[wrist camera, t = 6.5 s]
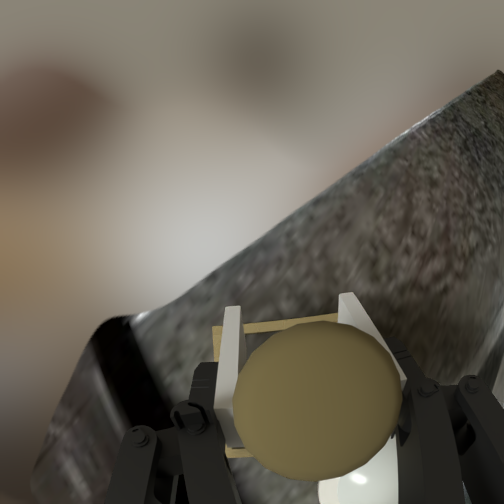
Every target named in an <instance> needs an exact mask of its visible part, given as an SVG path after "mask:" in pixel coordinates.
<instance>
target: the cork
mask: <svg viewBox="0 0 504 504" xmlns="http://www.w3.org/2000/svg"><path fill="white" fill-rule="evenodd" d="M401 404H402V389H401V380H400V374H399V372H398V370H397V368H396V365H395V363H394V361H393V359H392V357H391V355H390V353H389V352H388V351H387V350H386V349H385V348H384V347H383V346H382V345H381V344H380V343H379V342H378V341H377V340H376V339H375V338H374V337H373V336H371V335H369V334H367V333H366V332H364V331H362V330H360V329H358V328H356V327H354V326H352V325H348V324H342V323H336V322H330V321H324V320H322V321H315V322H308V323H300V324H296V325H294V326H292V327H289V328H287V329H285V330H283V331H280V332H278V333H276V334H274V335H272V336H271V337H270V338H269V339H268V340H266V341H265V342H264V343H263V344H262V345H261V346H259V347H258V348H257V349H256V350H255V351H254V352H252V354H251V356H250V357H249V359H248V360H247V362H246V364H245V365H244V367H243V368H242V370H241V372H240V373H239V375H238V378H237V382H236V386H235V390H234V394H233V398H232V405H233V416H234V426H235V428H236V430H237V432H238V434H239V436H240V438H241V440H242V443H243V445H244V447H245V448H246V449H247V450H248V451H249V452H250V453H251V454H252V455H253V456H254V457H255V458H256V459H257V460H258V461H259V462H260V463H261V464H262V465H263V466H264V467H265V468H267V469H269V470H271V471H273V472H275V473H277V474H279V475H282V476H284V477H286V478H288V479H294V480H303V481H313V482H317V481H323V480H328V479H333V478H338V477H342V476H344V475H346V474H348V473H350V472H352V471H354V470H356V469H358V468H360V467H362V466H363V465H365V464H366V463H368V462H369V461H370V460H371V459H372V458H373V457H374V456H375V455H376V454H377V453H378V452H379V451H380V450H381V449H382V448H383V447H384V446H385V445H386V443H387V441H388V439H389V438H390V436H391V434H392V432H393V431H394V429H395V427H396V425H397V423H398V418H399V414H400V409H401Z"/></svg>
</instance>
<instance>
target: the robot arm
mask: <svg viewBox="0 0 504 504" xmlns="http://www.w3.org/2000/svg"><path fill="white" fill-rule="evenodd" d="M338 323H342V324H348V325H352V326H354V327H356V328H358V329H360V330H362V331H364V332H366V333H367V334H369V335H371V336H373V337H374V338H375V339H376V340H377V341H378V342H379V343H380V344H381V345H382V346H383V347H384V348H385V349H386V350H387V351H388V352H389V353H390V355H391V357H392V359H393V361H394V363H395V365H396V368H397V370H398V372H399V374H400V380H401V389H402V404H401V409H400V414H399V418H398V423H397V425H396V427H395V429H394V431H393V432H392V434H391V439H393V438H394V436H396V448H397V465H398V504H465V498H464V489H463V483H464V485H465V487H466V490H467V492H468V495H469V497H470V500H471V502H472V504H504V409H503V408H502V406H501V405H500V404H499V402H498V401H497V399H496V398H495V396H494V395H493V394H492V392H491V391H490V389H489V388H488V387H487V385H486V384H485V382H484V381H483V380H482V379H481V378H480V377H477V376H475V375H467V376H464V377H463V378H461V380H460V382H459V383H458V385H449V386H440V385H439V383H437V382H436V381H435V380H432V379H430V378H426V377H425V376H424V374H423V372H422V371H421V369H420V368H419V366H418V365H417V363H416V362H415V360H414V359H413V357H411V354H410V353H409V351H407V348H406V347H405V345H404V344H403V342H401V341H400V340H398V339H397V338H395V337H390V338H385V339H383V338H382V336H381V335H380V333H379V332H378V330H377V329H376V327H375V325H374V324H373V322H372V321H371V319H370V318H369V316H368V315H367V313H366V311H365V310H364V308H363V307H362V305H361V304H360V302H359V301H358V299H357V298H356V296H355V295H354V293H353V292H350V293H343V294H339V309H338ZM246 362H247V346H246V340H245V333H244V327H243V320H242V313H241V307H240V306H230V307H225V315H224V323H223V331H222V339H221V347H220V356H219V362H202V363H200V364H199V365H198V367H197V368H196V369H195V371H194V375H193V381H192V385H191V390H190V395H189V400H185V401H182V402H180V403H178V404H177V405H175V406H174V408H173V409H172V411H171V415H170V417H171V419H172V421H173V423H174V425H175V427H172V428H169V429H165V430H160V431H154V430H153V429H151V428H150V427H147V426H136V427H133V428H131V429H130V430H128V431H127V432H126V434H125V435H124V437H123V440H122V443H121V447H120V450H119V453H118V456H117V460H116V463H115V467H114V470H113V473H112V477H111V480H110V484H109V488H108V491H107V495H106V499H105V503H104V504H175V498H176V490H177V482H178V475H180V474H184V478H185V483H186V489H187V494H188V499H189V504H242V503H241V500H240V497H239V494H238V491H237V488H236V485H235V482H234V478H233V475H232V472H231V469H230V465H229V462H228V459H227V456H226V453H225V445H227V448H233V447H244V445H243V443H242V440H241V438H240V436H239V434H238V432H237V430H236V428H235V426H234V416H233V405H232V398H233V394H234V390H235V386H236V382H237V378H238V375H239V373H240V372H241V370H242V368H243V367H244V365H245V364H246ZM462 480H463V482H462Z"/></svg>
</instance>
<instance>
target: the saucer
mask: <svg viewBox="0 0 504 504" xmlns="http://www.w3.org/2000/svg"><path fill="white" fill-rule="evenodd" d="M317 492H318V499H319V502H320V504H398V465H397V448H396V436H394V438H393V439H391V436H390V438H389V439H388V441H387V443H386V445H385V446H384V447H383V448H382V449H381V450H380V451H379V452H378V453H377V454H376V455H375V456H374V457H373V458H372V459H371V460H370V461H369V462H368V463H366V464H365V465H363V466H362V467H360V468H358V469H356V470H354V471H352V472H350V473H348V474H346V475H344V476H342V477H338V478H333V479H328V480H323V481H318V485H317Z"/></svg>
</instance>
